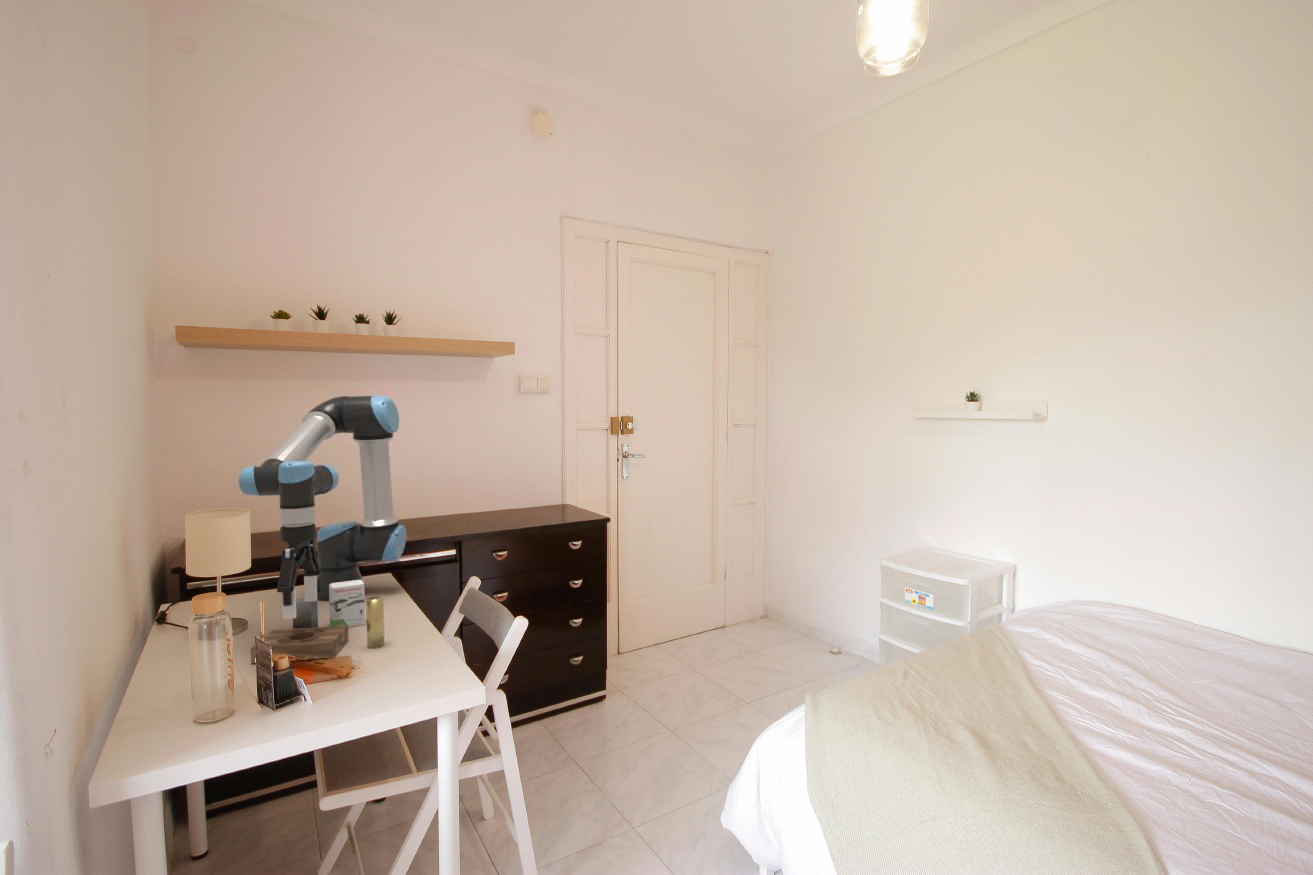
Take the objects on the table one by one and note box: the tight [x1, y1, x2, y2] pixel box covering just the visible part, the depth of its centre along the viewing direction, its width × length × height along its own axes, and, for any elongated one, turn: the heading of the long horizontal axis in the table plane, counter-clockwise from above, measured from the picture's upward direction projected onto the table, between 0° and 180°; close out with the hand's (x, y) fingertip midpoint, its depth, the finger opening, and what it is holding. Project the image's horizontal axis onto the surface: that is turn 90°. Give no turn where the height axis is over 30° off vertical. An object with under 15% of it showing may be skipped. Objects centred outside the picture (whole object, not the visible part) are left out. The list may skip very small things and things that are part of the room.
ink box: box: [329, 580, 366, 628], centre depth 174 cm, size 9×5×12 cm, turn 124°
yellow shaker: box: [365, 596, 385, 649], centre depth 158 cm, size 4×4×12 cm
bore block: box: [250, 625, 350, 665], centre depth 154 cm, size 12×18×4 cm, turn 100°
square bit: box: [292, 596, 319, 629], centre depth 165 cm, size 4×4×10 cm
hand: (300, 609), depth 154 cm, fingers open, 13 cm apart
